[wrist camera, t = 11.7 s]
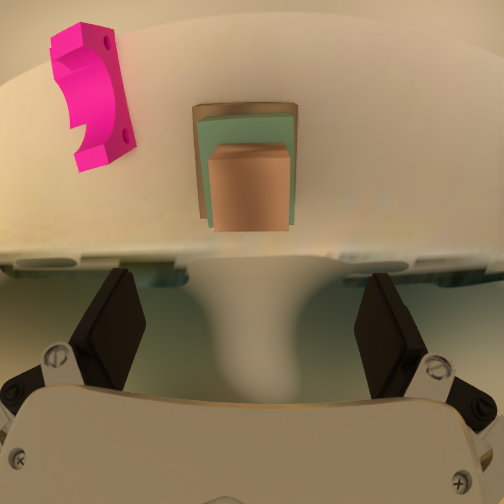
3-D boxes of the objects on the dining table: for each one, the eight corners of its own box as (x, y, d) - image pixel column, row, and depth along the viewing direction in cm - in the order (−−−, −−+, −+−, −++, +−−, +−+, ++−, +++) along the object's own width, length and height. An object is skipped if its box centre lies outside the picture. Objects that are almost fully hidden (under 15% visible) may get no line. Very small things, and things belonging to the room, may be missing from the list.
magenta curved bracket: (70, 48, 25) (33, 48, 19) (114, 29, 24) (80, 21, 18) (94, 158, 33) (61, 178, 26) (137, 146, 32) (109, 163, 26)
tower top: (289, 112, 27) (293, 116, 23) (290, 207, 32) (294, 224, 28) (205, 116, 27) (196, 122, 24) (214, 210, 32) (208, 227, 29)
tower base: (293, 102, 30) (297, 105, 26) (290, 204, 36) (293, 218, 32) (200, 104, 30) (192, 107, 26) (206, 204, 36) (200, 218, 33)
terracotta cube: (284, 142, 24) (290, 158, 20) (283, 202, 27) (288, 231, 23) (218, 144, 25) (208, 160, 20) (222, 203, 27) (214, 231, 23)
